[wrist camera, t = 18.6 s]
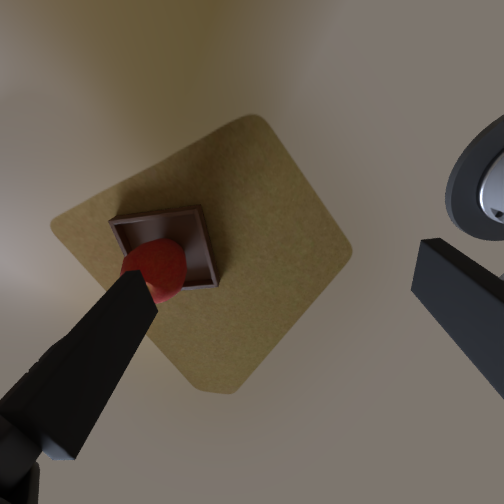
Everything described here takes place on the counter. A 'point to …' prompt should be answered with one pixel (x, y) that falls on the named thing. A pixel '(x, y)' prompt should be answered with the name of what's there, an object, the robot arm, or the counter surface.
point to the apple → (159, 267)
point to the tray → (177, 229)
